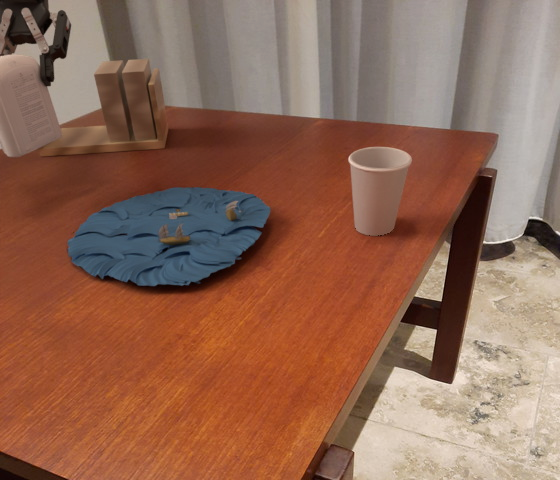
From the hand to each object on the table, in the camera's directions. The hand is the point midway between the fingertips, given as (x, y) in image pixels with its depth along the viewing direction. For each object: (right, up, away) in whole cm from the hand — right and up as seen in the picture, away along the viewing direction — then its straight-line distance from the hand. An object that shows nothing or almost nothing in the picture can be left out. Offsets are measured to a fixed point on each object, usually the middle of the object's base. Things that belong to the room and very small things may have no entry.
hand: (25, 83), depth 81 cm
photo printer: (0, -8, +4) cm, 9 cm away
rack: (+2, +4, +31) cm, 31 cm away
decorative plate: (+22, -23, -2) cm, 32 cm away
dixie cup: (+51, -22, -1) cm, 56 cm away
